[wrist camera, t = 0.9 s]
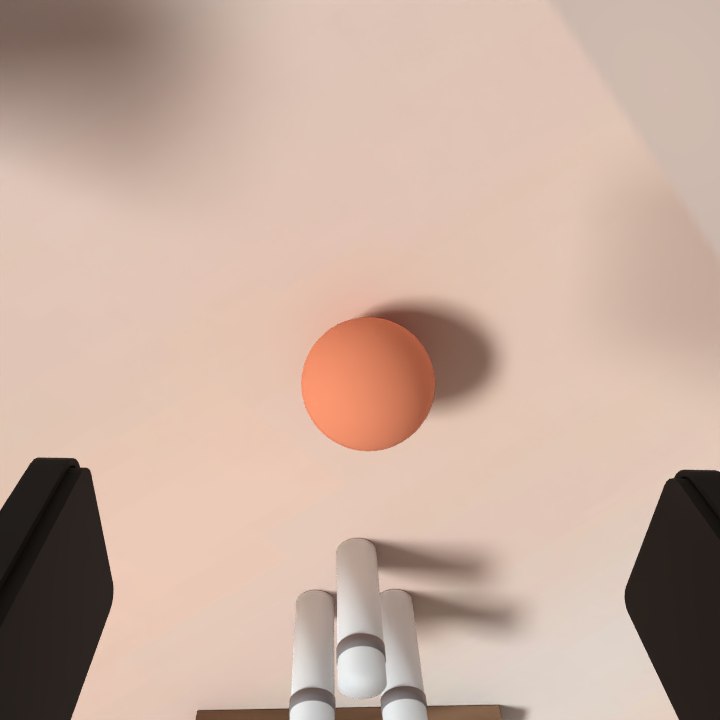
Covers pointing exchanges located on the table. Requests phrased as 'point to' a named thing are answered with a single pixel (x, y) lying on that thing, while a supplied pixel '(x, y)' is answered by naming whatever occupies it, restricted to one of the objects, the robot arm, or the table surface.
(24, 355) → the table surface
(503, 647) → the table surface
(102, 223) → the table surface
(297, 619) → the pin
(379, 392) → the ball
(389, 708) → the pin
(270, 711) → the back wall
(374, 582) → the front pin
